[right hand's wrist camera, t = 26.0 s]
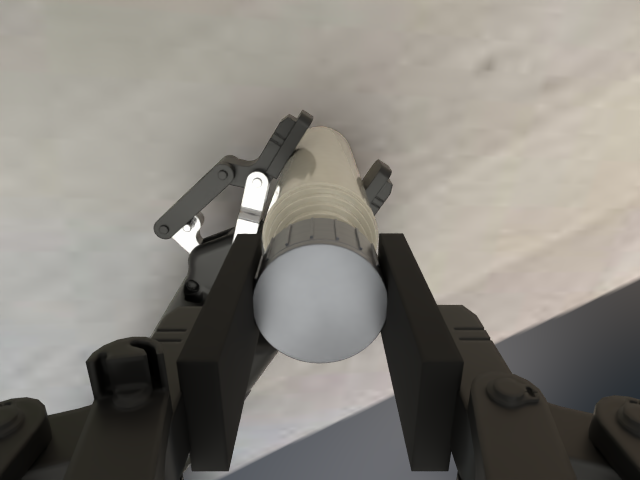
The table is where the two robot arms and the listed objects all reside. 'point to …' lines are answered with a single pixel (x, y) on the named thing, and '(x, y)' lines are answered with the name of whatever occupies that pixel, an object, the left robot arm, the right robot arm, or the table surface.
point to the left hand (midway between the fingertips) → (346, 141)
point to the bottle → (320, 187)
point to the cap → (320, 291)
